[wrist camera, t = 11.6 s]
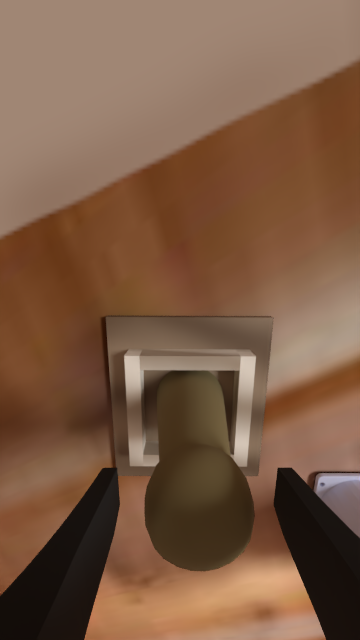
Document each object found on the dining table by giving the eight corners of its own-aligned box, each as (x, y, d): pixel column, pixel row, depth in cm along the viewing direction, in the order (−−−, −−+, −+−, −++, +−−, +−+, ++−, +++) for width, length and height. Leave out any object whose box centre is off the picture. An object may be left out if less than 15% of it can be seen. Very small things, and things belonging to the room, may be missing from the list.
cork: (160, 429, 20) (139, 603, 10) (151, 369, 19) (116, 493, 8) (225, 422, 20) (277, 592, 9) (220, 362, 19) (274, 479, 8)
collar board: (256, 470, 22) (264, 492, 20) (118, 470, 22) (111, 491, 20) (270, 316, 19) (282, 321, 17) (108, 315, 19) (98, 321, 17)
